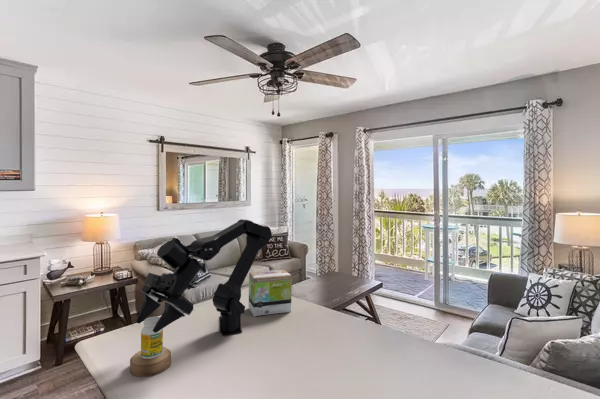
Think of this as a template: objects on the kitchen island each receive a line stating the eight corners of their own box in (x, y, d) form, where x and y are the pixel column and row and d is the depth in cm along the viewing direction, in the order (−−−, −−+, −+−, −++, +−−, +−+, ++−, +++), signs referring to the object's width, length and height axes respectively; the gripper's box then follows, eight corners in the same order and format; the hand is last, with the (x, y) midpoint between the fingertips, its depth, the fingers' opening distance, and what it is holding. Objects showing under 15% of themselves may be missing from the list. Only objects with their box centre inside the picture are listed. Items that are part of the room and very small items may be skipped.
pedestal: (170, 353, 92) (170, 343, 92) (171, 371, 83) (171, 360, 83) (131, 360, 88) (131, 350, 88) (128, 380, 79) (128, 368, 79)
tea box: (254, 317, 118) (253, 278, 118) (248, 308, 127) (248, 271, 127) (292, 312, 124) (292, 274, 123) (283, 303, 133) (283, 268, 132)
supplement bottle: (153, 348, 89) (154, 314, 89) (167, 352, 87) (167, 317, 87) (136, 356, 84) (136, 320, 84) (149, 361, 82) (150, 324, 82)
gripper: (147, 256, 94) (106, 304, 85) (182, 266, 82) (140, 322, 74) (172, 277, 100) (137, 323, 92) (208, 288, 89) (172, 342, 80)
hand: (145, 327), depth 84 cm, fingers open, 9 cm apart
